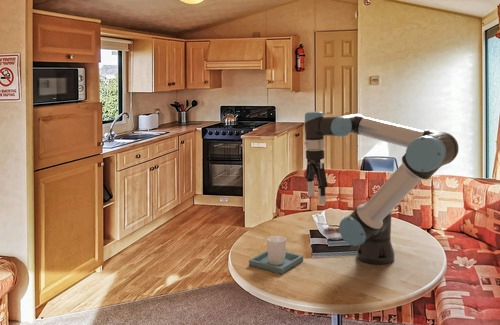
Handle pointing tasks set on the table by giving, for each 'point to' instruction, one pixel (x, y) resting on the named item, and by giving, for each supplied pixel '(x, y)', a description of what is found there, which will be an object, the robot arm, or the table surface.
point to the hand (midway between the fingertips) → (316, 199)
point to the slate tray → (263, 263)
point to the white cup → (276, 249)
